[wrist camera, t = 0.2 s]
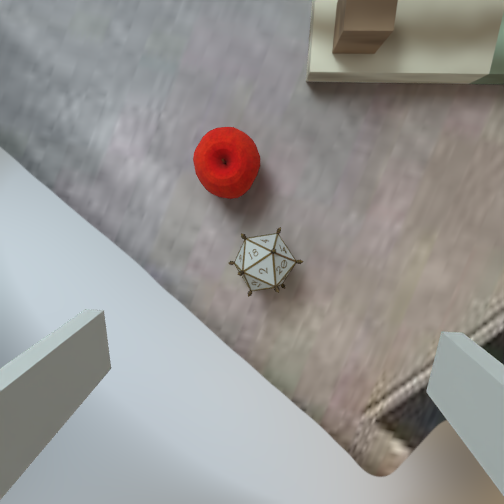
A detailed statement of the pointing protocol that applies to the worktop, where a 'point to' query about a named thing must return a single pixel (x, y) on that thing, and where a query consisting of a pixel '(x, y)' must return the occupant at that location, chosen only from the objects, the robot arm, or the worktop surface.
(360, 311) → the worktop surface
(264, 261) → the game die
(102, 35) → the worktop surface
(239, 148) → the apple
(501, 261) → the worktop surface
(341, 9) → the block
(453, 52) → the shape sorter board
